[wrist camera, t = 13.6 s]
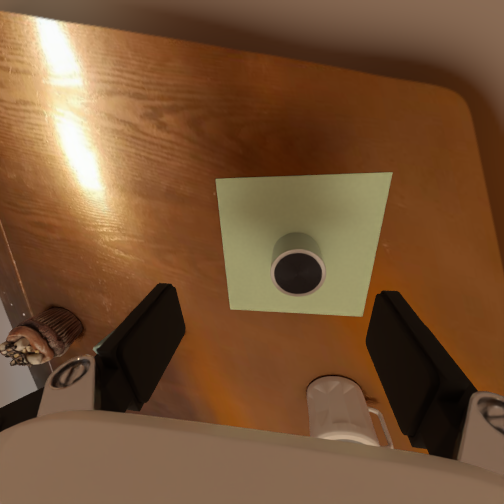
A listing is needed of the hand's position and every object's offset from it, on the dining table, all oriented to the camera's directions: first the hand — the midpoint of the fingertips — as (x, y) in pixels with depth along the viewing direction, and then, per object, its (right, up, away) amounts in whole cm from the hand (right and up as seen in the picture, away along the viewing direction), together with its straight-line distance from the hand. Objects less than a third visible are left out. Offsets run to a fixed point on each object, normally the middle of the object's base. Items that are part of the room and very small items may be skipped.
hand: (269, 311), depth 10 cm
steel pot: (+6, +3, +22) cm, 22 cm away
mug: (+17, -26, +33) cm, 45 cm away
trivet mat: (+6, +3, +22) cm, 23 cm away
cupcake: (-41, -12, +36) cm, 56 cm away
